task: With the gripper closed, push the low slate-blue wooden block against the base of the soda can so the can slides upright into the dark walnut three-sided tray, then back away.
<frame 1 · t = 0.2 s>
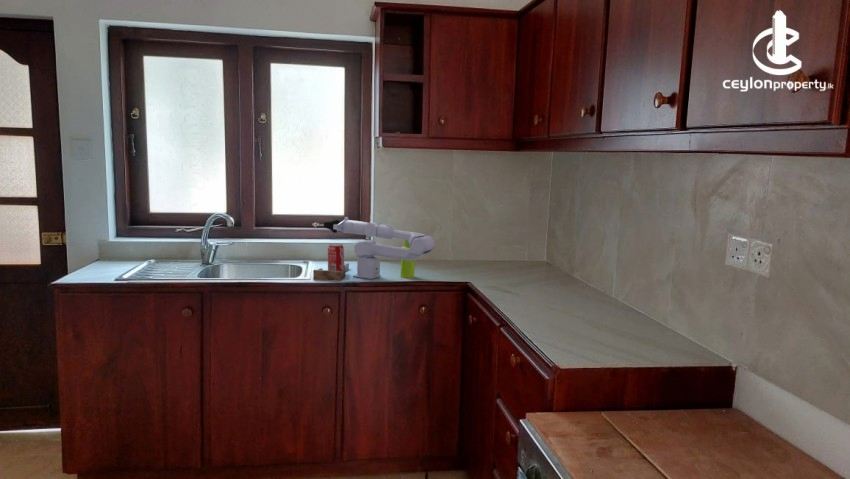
hand: (329, 224, 262), 21 cm above the worktop, tool horizontal, fingers open, 7 cm apart
pusher block: (340, 270, 269), on the worktop
soap dispenser: (408, 277, 258), on the worktop
walnut tray: (329, 277, 251), on the worktop
soda can: (335, 273, 261), on the worktop
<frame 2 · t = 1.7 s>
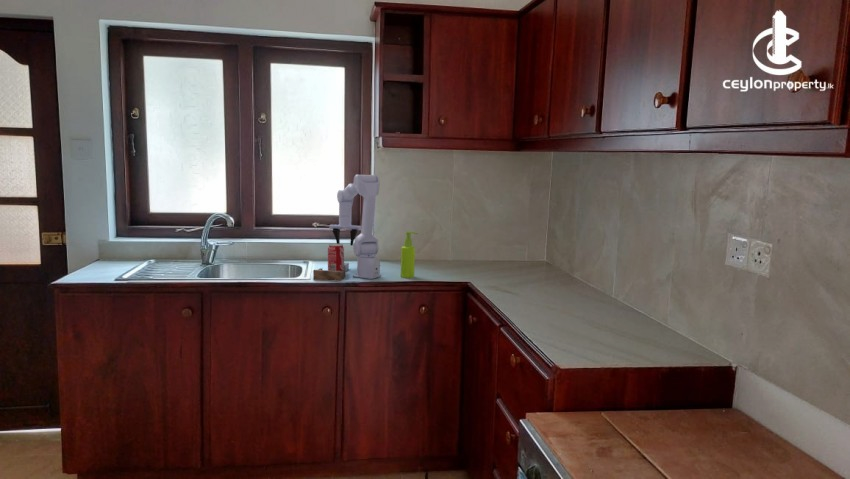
hand: (344, 244, 276), 10 cm above the worktop, tool pointing down, fingers open, 6 cm apart
nothing on the worktop moved.
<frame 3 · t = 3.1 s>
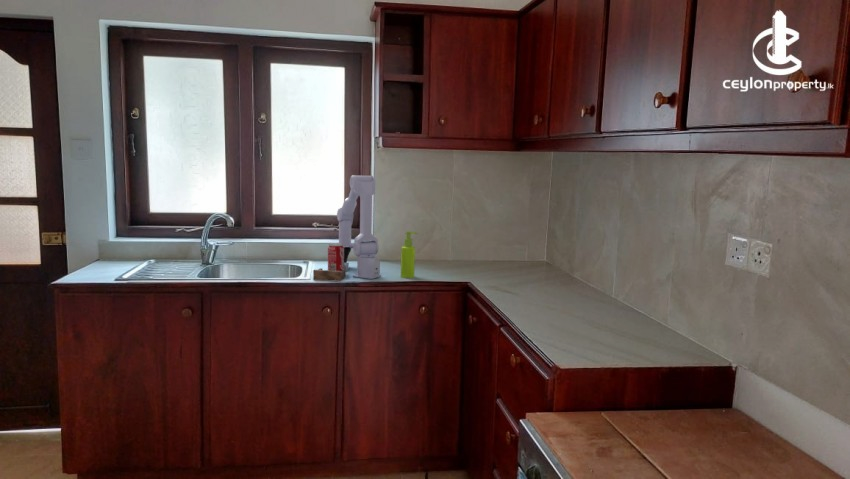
hand: (344, 263, 277), 2 cm above the worktop, tool pointing down, fingers closed
nothing on the worktop moved.
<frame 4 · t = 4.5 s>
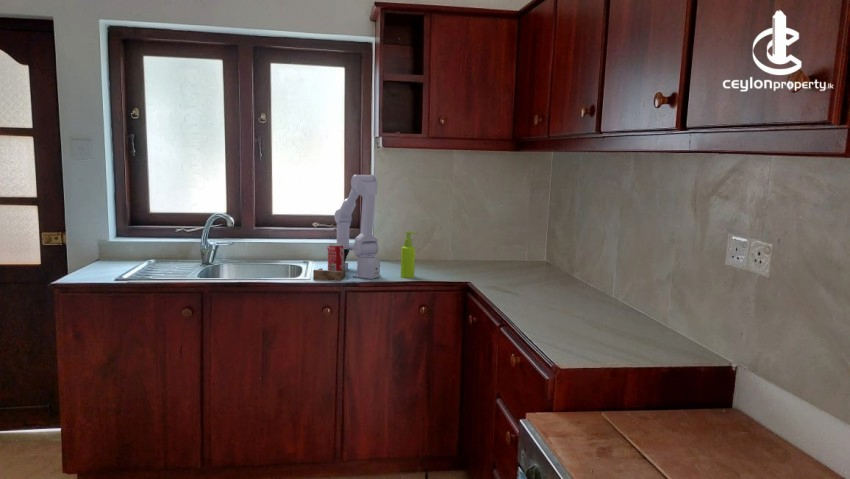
hand: (342, 265, 273), 1 cm above the worktop, tool pointing down, fingers closed
pusher block: (340, 270, 268), on the worktop
everything else where it was.
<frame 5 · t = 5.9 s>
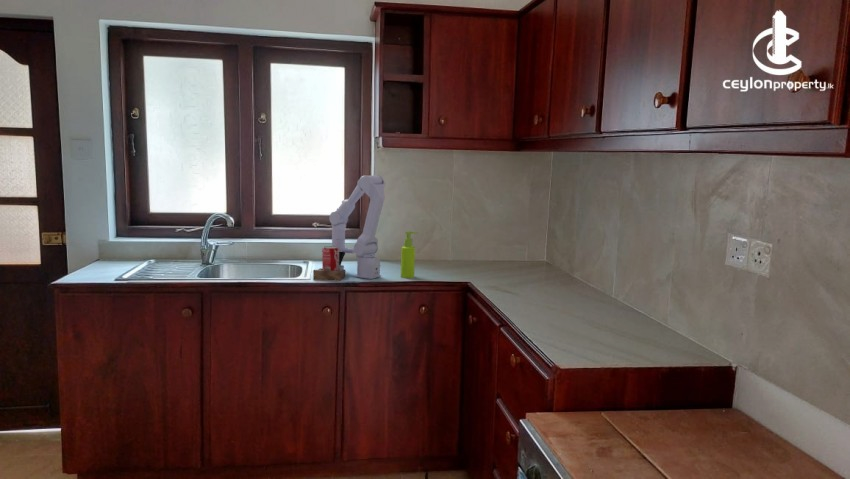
hand: (338, 268, 265), 1 cm above the worktop, tool pointing down, fingers closed, pressing on pusher block
pusher block: (335, 273, 260), on the worktop, touching gripper, soda can
soda can: (330, 277, 254), on the worktop, touching pusher block
everything else where it was.
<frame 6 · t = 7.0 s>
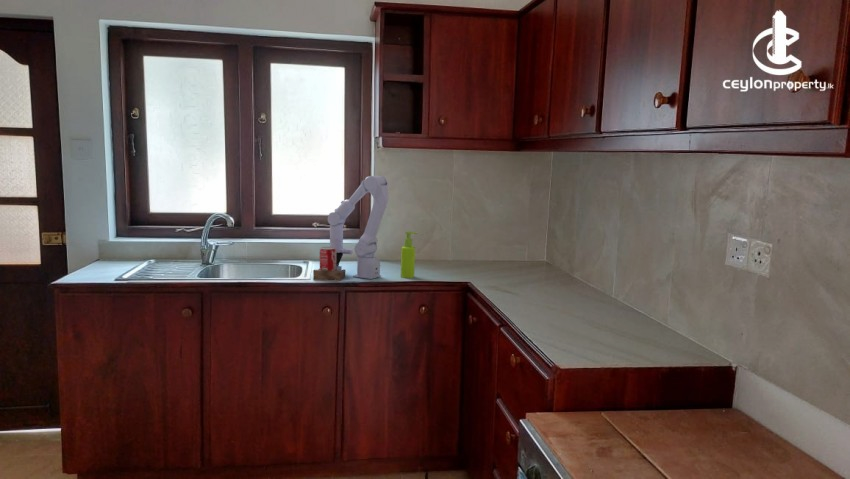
hand: (335, 269, 262), 2 cm above the worktop, tool pointing down, fingers closed, pressing on pusher block
pusher block: (332, 274, 257), on the worktop, touching gripper, soda can
soda can: (328, 278, 251), on the worktop, touching pusher block, walnut tray
everything else where it was.
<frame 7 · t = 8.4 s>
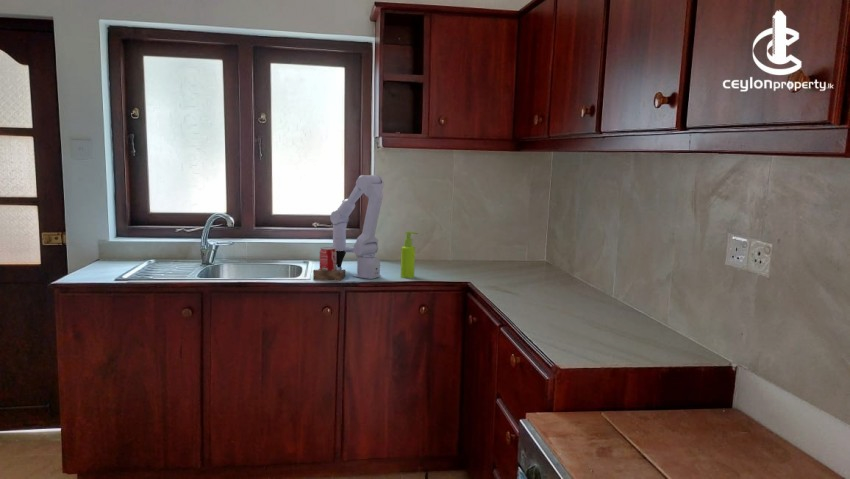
hand: (339, 267, 267), 2 cm above the worktop, tool pointing down, fingers closed
pusher block: (332, 275, 258), on the worktop
soda can: (328, 278, 251), on the worktop
everything else where it was.
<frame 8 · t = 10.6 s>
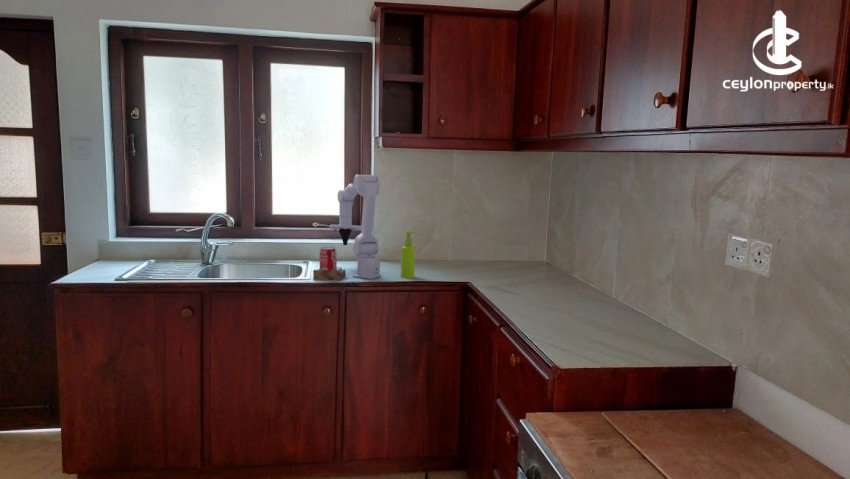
hand: (345, 244, 276), 10 cm above the worktop, tool pointing down, fingers closed
nothing on the worktop moved.
at the end: soda can inside the target area on the walnut tray (1.1 cm from its centre), point 0.0 cm above the walnut tray's base; soda can tilted 0° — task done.
